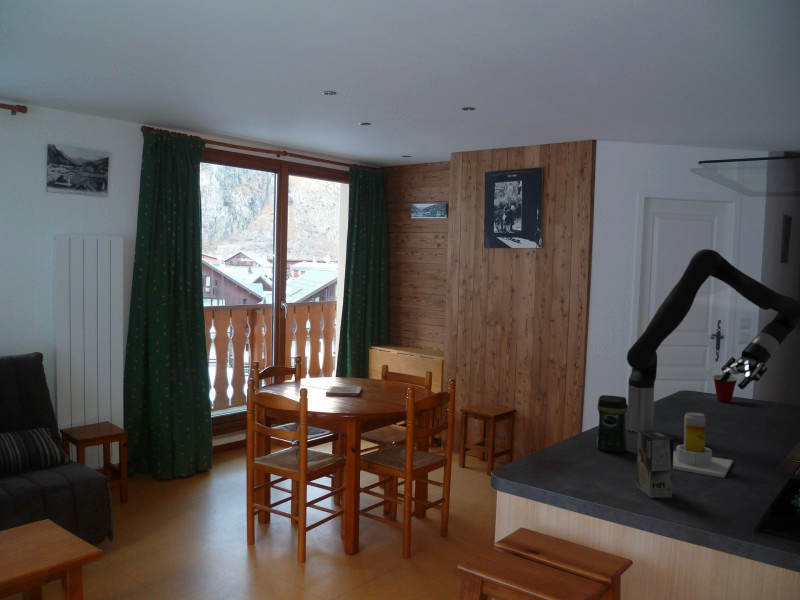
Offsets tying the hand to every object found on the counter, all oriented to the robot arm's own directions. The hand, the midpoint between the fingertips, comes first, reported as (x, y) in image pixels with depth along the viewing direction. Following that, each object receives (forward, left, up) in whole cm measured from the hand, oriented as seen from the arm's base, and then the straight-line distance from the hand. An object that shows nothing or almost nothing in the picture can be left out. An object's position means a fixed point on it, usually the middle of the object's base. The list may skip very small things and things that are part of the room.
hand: (729, 385), depth 208 cm
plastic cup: (-15, +105, -24) cm, 109 cm away
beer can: (-8, -13, -23) cm, 28 cm away
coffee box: (-12, -49, -25) cm, 56 cm away
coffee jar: (-34, -13, -25) cm, 44 cm away
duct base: (-8, -14, -24) cm, 29 cm away
